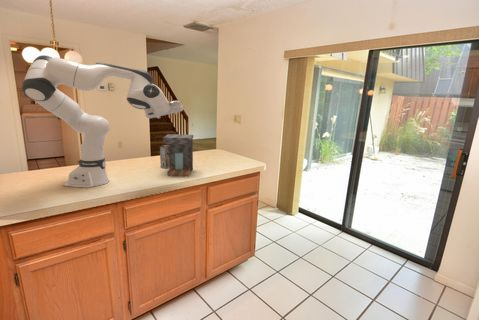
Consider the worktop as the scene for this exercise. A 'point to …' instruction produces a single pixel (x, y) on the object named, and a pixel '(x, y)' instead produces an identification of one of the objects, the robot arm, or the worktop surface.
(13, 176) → the worktop surface
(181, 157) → the peg
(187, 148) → the dark grey upright block
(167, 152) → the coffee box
